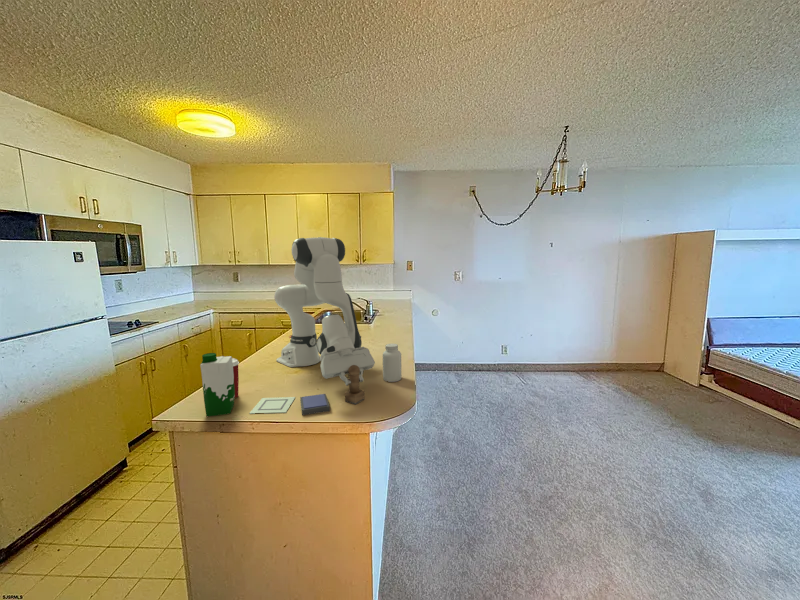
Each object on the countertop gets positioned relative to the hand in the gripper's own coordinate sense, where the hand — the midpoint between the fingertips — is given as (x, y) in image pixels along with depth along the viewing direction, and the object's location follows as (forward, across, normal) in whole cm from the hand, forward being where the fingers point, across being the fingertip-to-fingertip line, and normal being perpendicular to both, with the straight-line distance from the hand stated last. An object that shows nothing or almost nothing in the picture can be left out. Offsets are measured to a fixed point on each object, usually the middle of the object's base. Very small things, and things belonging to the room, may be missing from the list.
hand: (355, 382), depth 118 cm
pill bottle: (-3, -23, -13) cm, 26 cm away
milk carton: (-9, +41, -19) cm, 46 cm away
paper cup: (-16, +37, -26) cm, 48 cm away
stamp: (+4, 0, -5) cm, 7 cm away
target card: (-5, +25, -14) cm, 30 cm away
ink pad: (+2, +14, -8) cm, 16 cm away
